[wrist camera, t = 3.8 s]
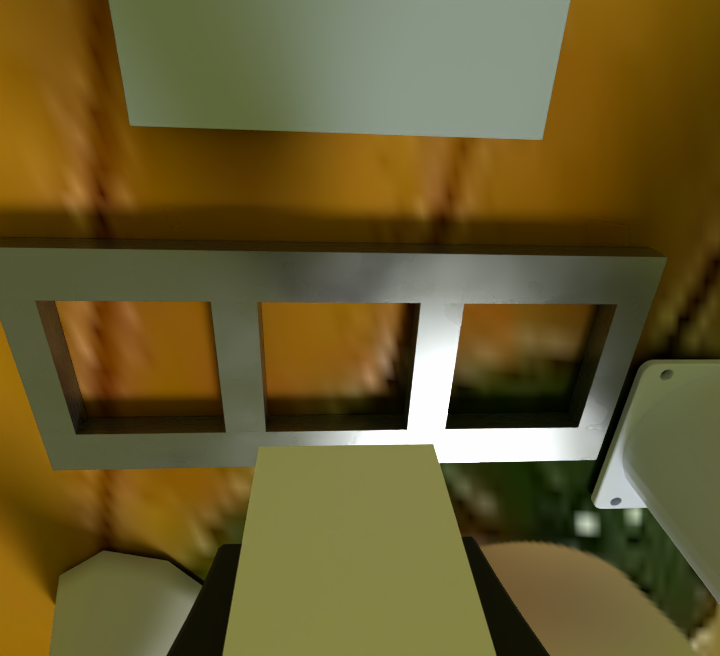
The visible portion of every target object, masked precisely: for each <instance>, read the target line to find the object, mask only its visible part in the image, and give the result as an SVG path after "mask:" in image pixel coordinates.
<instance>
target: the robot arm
mask: <svg viewBox="0 0 720 656" xmlns="http://www.w3.org/2000/svg"><path fill="white" fill-rule="evenodd" d="M665 370H666V372H665V373H663V374H662V372H664V371H665ZM661 374H662V375H661ZM591 500H592V502H593V503H594V505H595V506H596V507H597V508H601V509H612V508H648V509H649V510H650V512H651V513H652V515H653V516H654V517H655V519H656V520H657V521H658V523H659V524H660V525H661V527H662V528H663V529H664V531H665V532H666V533H667V535H668V536H669V537H670V539H671V540H672V541H673V543H674V544H675V545H676V547H677V548H678V549H679V551H680V552H681V553H682V555H683V556H684V557H685V559H686V560H687V561H688V563H689V564H690V565H691V567H692V568H693V569H694V571H695V572H696V573H697V575H698V576H699V577H700V579H701V580H702V581H703V583H704V584H705V585H706V587H707V588H708V589H709V591H710V592H711V593H712V595H713V596H714V597H715V599H716V600H717V601H718V603H719V604H720V359H719V360H649V361H647V362H645V363H643V364H642V365H641V366H640V367H639V369H638V371H637V374H636V376H635V379H634V382H633V385H632V387H631V390H630V393H629V395H628V398H627V401H626V404H625V406H624V409H623V412H622V415H621V417H620V420H619V423H618V425H617V428H616V431H615V434H614V436H613V439H612V442H611V445H610V447H609V450H608V453H607V455H606V458H605V461H604V464H603V466H602V469H601V472H600V475H599V477H598V480H597V483H596V485H595V488H594V491H593V494H592V497H591ZM461 538H462V541H463V545H464V548H465V551H466V555H467V558H468V562H469V565H470V568H471V572H472V575H473V578H474V582H475V585H476V588H477V592H478V595H479V599H480V602H481V605H482V609H483V612H484V615H485V619H486V622H487V625H488V629H489V632H490V636H491V639H492V642H493V646H494V649H495V652H496V656H550V655H549V654H548V652H547V651H546V649H545V648H544V647H543V645H542V644H541V642H540V641H539V639H538V638H537V636H536V635H535V634H534V632H533V631H532V629H531V628H530V626H529V625H528V624H527V622H526V621H525V619H524V618H523V616H522V615H521V613H520V612H519V610H518V609H517V607H516V606H515V604H514V603H513V601H512V600H511V598H510V596H509V595H508V593H507V592H506V590H505V589H504V587H503V586H502V584H501V582H500V581H499V579H498V578H497V576H496V575H495V573H494V571H493V569H492V568H491V566H490V565H489V563H488V561H487V559H486V558H485V556H484V554H483V553H482V551H481V549H480V547H479V546H478V544H477V542H476V540H475V539H473V538H472V537H461ZM241 547H242V544H224V545H222V546H221V547H220V548H219V549H218V551H217V554H216V556H215V559H214V561H213V564H212V566H211V568H210V570H209V573H208V575H207V577H206V579H205V582H204V584H203V586H202V588H201V590H200V592H199V594H198V596H197V598H196V600H195V602H194V604H193V606H192V608H191V610H190V612H189V614H188V616H187V618H186V620H185V622H184V624H183V626H182V627H181V629H180V631H179V633H178V635H177V637H176V639H175V640H174V642H173V644H172V646H171V648H170V650H169V651H168V653H167V655H166V656H223V650H224V644H225V638H226V633H227V627H228V621H229V615H230V610H231V604H232V598H233V592H234V587H235V581H236V575H237V570H238V564H239V558H240V552H241Z"/></svg>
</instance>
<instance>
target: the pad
mask: <svg viewBox="0 0 720 656" xmlns="http://www.w3.org/2000/svg"><path fill="white" fill-rule="evenodd" d="M569 4H570V0H109V6H110V11H111V17H112V23H113V29H114V35H115V41H116V46H117V52H118V58H119V64H120V70H121V75H122V81H123V87H124V93H125V99H126V105H127V110H128V116H129V122H130V126H150V127H179V128H209V129H238V130H268V131H297V132H326V133H356V134H385V135H415V136H444V137H473V138H503V139H532V140H542V137H543V132H544V128H545V123H546V118H547V113H548V108H549V103H550V98H551V93H552V88H553V83H554V78H555V73H556V68H557V63H558V58H559V53H560V48H561V43H562V38H563V34H564V29H565V24H566V19H567V14H568V9H569Z"/></svg>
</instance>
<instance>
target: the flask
mask: <svg viewBox="0 0 720 656" xmlns="http://www.w3.org/2000/svg"><path fill="white" fill-rule="evenodd" d="M201 588H202V585H201V584H199V583H198V582H196V581H195V580H194V579H192V578H191V577H189V576H188V575H187V574H185V573H184V572H182V571H181V570H180V569H178V568H177V567H175V566H174V565H173V564H171V563H170V562H169V561H166V560H160V559H153V558H147V557H141V556H135V555H129V554H123V553H116V552H110V551H104V550H103V551H102V552H100V553H98V554H96V555H95V556H93V557H91V558H89V559H88V560H86V561H84V562H82V563H81V564H79V565H77V566H75V567H74V568H72V569H70V570H68V571H67V572H65V573H63V574H61V575H60V576H59V582H58V589H57V595H56V603H55V611H54V619H53V627H52V635H51V644H50V652H49V656H166V655H167V653H168V651H169V650H170V648H171V646H172V644H173V642H174V640H175V639H176V637H177V635H178V633H179V631H180V629H181V627H182V626H183V624H184V622H185V620H186V618H187V616H188V614H189V612H190V610H191V608H192V606H193V604H194V602H195V600H196V598H197V596H198V594H199V592H200V590H201Z"/></svg>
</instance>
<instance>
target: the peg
mask: <svg viewBox="0 0 720 656" xmlns="http://www.w3.org/2000/svg"><path fill="white" fill-rule="evenodd" d="M223 656H496V652H495V649H494V646H493V642H492V639H491V636H490V632H489V629H488V625H487V622H486V619H485V615H484V612H483V609H482V605H481V602H480V599H479V595H478V592H477V588H476V585H475V582H474V578H473V575H472V572H471V568H470V565H469V562H468V558H467V555H466V551H465V548H464V545H463V541H462V538H461V535H460V531H459V528H458V525H457V521H456V518H455V515H454V511H453V508H452V504H451V501H450V498H449V494H448V491H447V488H446V484H445V481H444V478H443V474H442V471H441V467H440V464H439V461H438V457H437V454H436V451H435V447H434V444H392V445H331V446H270V447H259V449H258V455H257V460H256V466H255V472H254V478H253V483H252V489H251V495H250V501H249V506H248V512H247V518H246V524H245V529H244V535H243V541H242V547H241V552H240V558H239V564H238V570H237V575H236V581H235V587H234V592H233V598H232V604H231V610H230V615H229V621H228V627H227V633H226V638H225V644H224V650H223Z"/></svg>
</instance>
